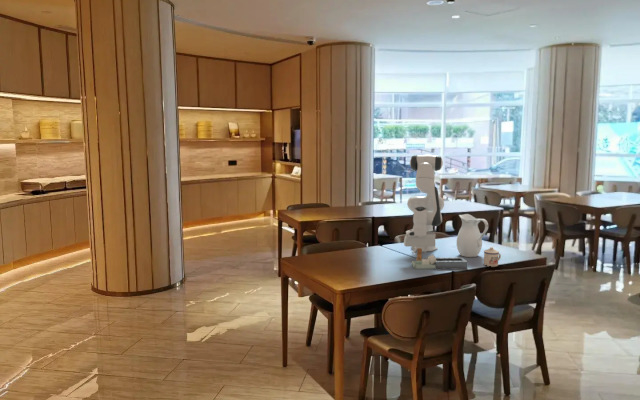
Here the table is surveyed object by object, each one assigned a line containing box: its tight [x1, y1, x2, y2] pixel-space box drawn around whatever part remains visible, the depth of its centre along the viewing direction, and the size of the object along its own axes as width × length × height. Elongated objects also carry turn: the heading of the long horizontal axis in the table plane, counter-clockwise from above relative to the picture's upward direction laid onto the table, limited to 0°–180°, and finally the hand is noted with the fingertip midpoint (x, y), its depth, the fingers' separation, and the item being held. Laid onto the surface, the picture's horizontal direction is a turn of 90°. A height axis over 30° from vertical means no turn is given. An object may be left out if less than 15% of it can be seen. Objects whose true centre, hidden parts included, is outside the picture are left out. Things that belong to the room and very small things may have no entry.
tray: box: [411, 260, 436, 270], centre depth 320 cm, size 10×13×2 cm
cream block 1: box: [422, 258, 430, 265], centre depth 319 cm, size 4×4×4 cm
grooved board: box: [432, 256, 468, 270], centre depth 320 cm, size 10×20×4 cm, turn 91°
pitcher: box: [456, 213, 489, 258], centre depth 344 cm, size 24×17×28 cm
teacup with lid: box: [483, 246, 501, 268], centre depth 323 cm, size 12×9×12 cm
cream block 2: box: [426, 254, 437, 264], centre depth 319 cm, size 4×4×4 cm
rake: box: [415, 248, 423, 261], centre depth 329 cm, size 5×3×10 cm, turn 1°
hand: (419, 252), depth 329 cm, fingers open, 5 cm apart
